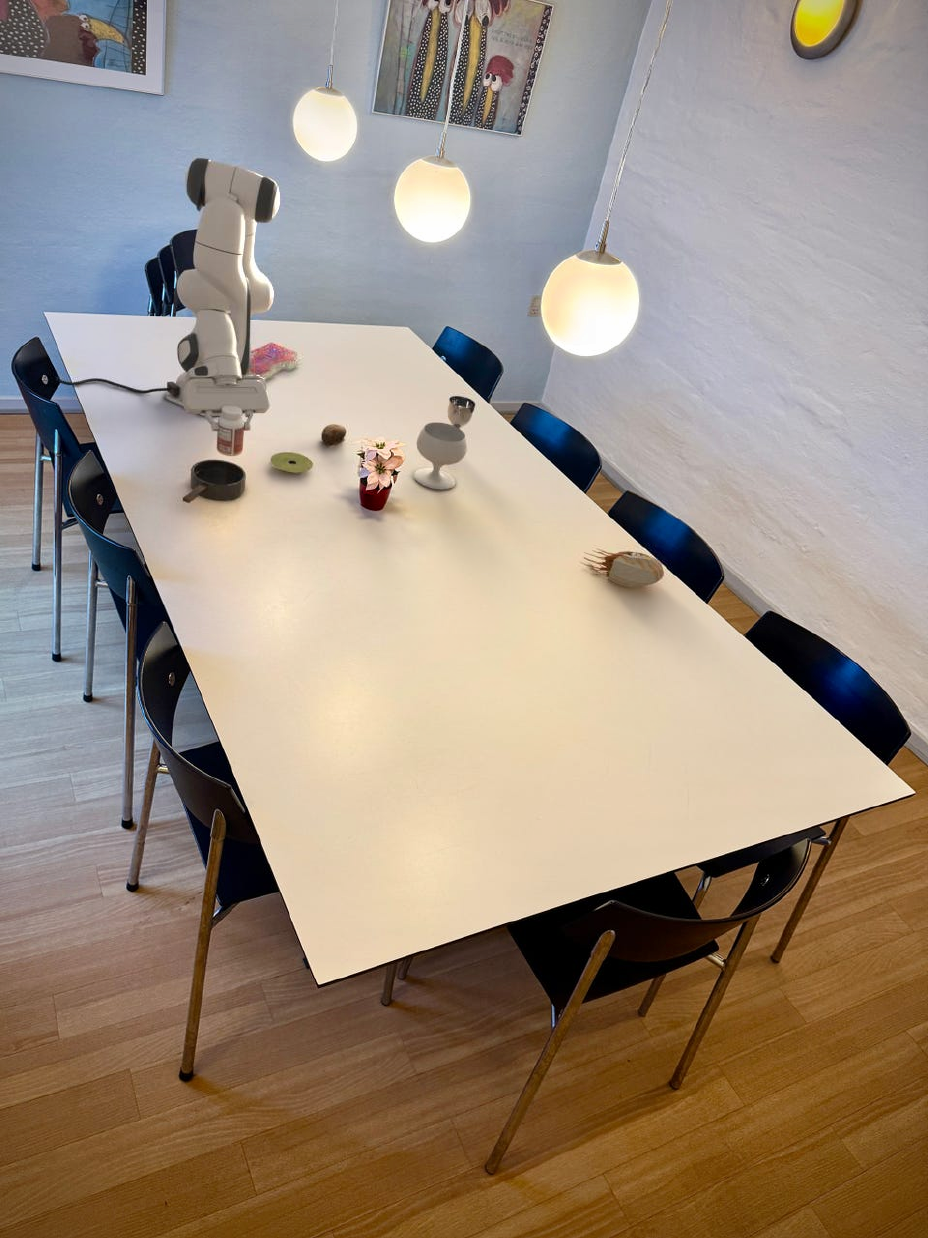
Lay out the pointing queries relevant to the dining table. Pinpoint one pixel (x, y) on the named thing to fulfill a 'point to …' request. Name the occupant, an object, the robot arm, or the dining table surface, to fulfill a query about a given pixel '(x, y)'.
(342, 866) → the dining table surface
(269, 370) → the pink mottled wavy slab
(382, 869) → the dining table surface
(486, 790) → the dining table surface
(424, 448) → the chalice
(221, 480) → the pan
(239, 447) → the pill bottle
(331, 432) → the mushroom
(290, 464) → the green disc
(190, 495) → the pan handle
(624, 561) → the nautilus
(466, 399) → the wine glass
